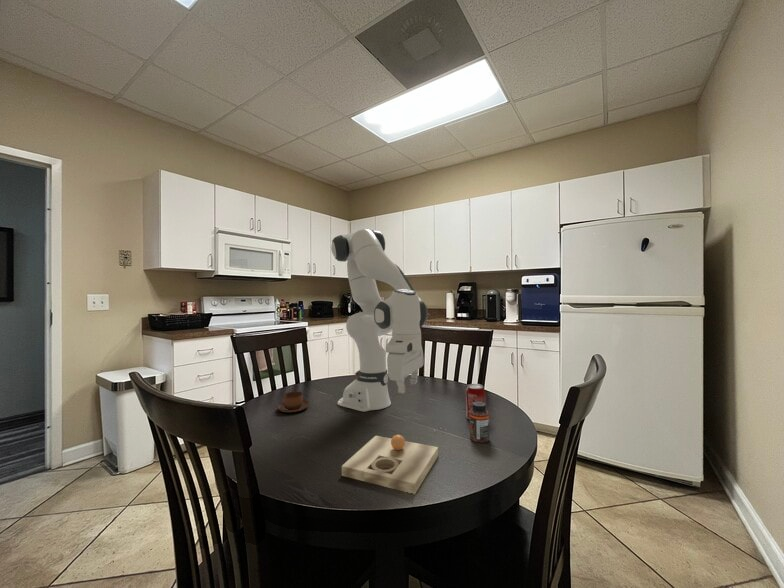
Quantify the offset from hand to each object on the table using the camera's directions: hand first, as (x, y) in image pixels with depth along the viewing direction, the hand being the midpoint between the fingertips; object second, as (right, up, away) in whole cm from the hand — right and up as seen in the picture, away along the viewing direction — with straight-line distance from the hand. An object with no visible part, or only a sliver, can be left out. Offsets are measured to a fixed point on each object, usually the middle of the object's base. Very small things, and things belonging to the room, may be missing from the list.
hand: (408, 388), depth 99 cm
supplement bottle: (+23, -17, +4) cm, 29 cm away
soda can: (+26, -17, +20) cm, 37 cm away
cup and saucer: (-45, -19, +34) cm, 59 cm away
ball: (-3, -13, -7) cm, 15 cm away
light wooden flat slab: (-5, -18, -11) cm, 21 cm away
